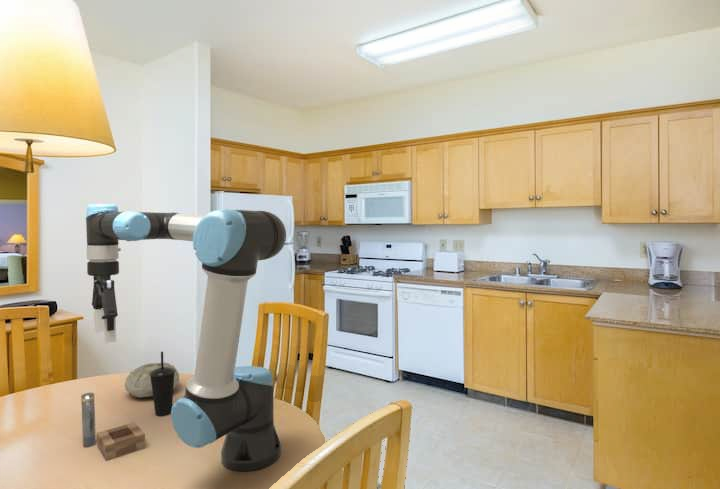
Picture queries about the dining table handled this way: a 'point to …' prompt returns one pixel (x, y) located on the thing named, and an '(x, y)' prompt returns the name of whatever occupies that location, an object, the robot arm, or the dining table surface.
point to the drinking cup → (162, 388)
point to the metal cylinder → (88, 419)
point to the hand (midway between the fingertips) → (104, 336)
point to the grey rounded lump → (145, 380)
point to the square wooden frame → (120, 441)
